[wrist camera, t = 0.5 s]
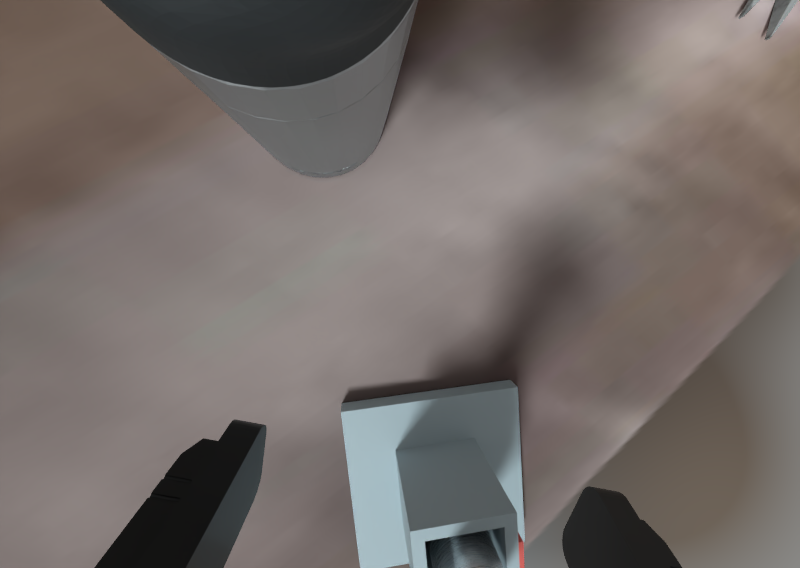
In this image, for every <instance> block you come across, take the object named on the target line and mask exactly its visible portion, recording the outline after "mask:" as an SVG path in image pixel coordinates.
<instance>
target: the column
mask: <svg viewBox="0 0 800 568" xmlns="http://www.w3.org/2000/svg"><path fill="white" fill-rule="evenodd" d="M427 545H428V549H429V554H430V558H431V563H432V567H433V568H504V567H503V565H502V563H501V561H500V558H499V556H498V554H497V551H496V549H495V547H494V545H493V542H492V540H491V538H490V535H489V533H488V531H487V530H486V531H480V532H475V533H469V534H464V535H458V536H453V537H447V538H441V539H436V540H430V541H427Z"/></svg>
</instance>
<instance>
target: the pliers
mask: <svg viewBox="0 0 800 568" xmlns="http://www.w3.org/2000/svg"><path fill="white" fill-rule="evenodd" d="M759 1H760V0H748V2H747V4H746V5H745V7H744V9H743V11H742V13H741V14H740V16H739V19H740V18H742V17H743V16H745V15H746V14H747V13H748V12H749V11H750V10H751V9H752V8H753V7H754V6H755V5H756V4H757V3H758V2H759ZM797 1H798V0H776V1H775V5H774V8H773V12H772V15H771V19H770V23H769V26H768V30H767V33H766V37H765V40H768V39H770V38H771V37H772V35H773V34H774V33H775V31H776V30H777V29H778V27H779V26H780V24H781V23H782V22H783V20H784V19H785V18H786V16H787V15H788V13H789V12H790V11H791V9H792V8H793V7H794V5H795V4H796V2H797Z"/></svg>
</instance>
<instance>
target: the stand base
mask: <svg viewBox="0 0 800 568" xmlns="http://www.w3.org/2000/svg"><path fill="white" fill-rule="evenodd" d="M341 416H342V424H343V432H344V440H345V448H346V456H347V464H348V473H349V481H350V489H351V497H352V505H353V513H354V521H355V529H356V537H357V545H358V553H359V561H360V568H386V567H392V566H397V565H402V564H408V563H409V565H410V568H433V567H432V563H431V558H430V554H429V549H428V545H427V541H430V540H436V539H441V538H447V537H453V536H458V535H464V534H469V533H475V532H480V531H486V530H487V531H488V533H489V535H490V538H491V540H492V542H493V545H494V547H495V549H496V551H497V554H498V556H499V558H500V561H501V563H502V565H503V567H504V568H524V547H523V542H525V534H524V512H523V490H522V468H521V446H520V424H519V402H518V387H517V386H516V385H515V384H514V383H513V382H512V381H511V380H504V381H497V382H490V383H483V384H476V385H468V386H461V387H454V388H447V389H440V390H432V391H425V392H418V393H411V394H404V395H397V396H389V397H382V398H375V399H368V400H361V401H354V402H346V403H342V406H341Z"/></svg>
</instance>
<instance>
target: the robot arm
mask: <svg viewBox="0 0 800 568" xmlns="http://www.w3.org/2000/svg"><path fill="white" fill-rule="evenodd" d="M101 1H102V2H103V3H104V4H105V5H106V6H107V7H108V8H109V9H110V10H112V11H113V12H114V13H115V14H116V15H117V16H118V17H119V18H120V19H122V20H123V21H124V22H125V23H126V24H127V25H128V26H129V27H130V28H132V29H133V30H134V31H135V32H136V33H137V34H139V35H140V36H141V37H142V38H143V39H145V40H146V41H147V42H148V43H149V44H150V45H151V46H153V47H154V48H155V49H156V50H157V51H158V52H159V53H160V54H161V55H162V56H164V57H165V58H166V59H167V60H168V61H169V62H170V63H171V64H172V65H174V66H175V67H176V68H177V69H178V70H179V71H180V72H181V73H182V74H183V75H185V76H186V77H187V78H188V79H189V80H190V81H191V82H192V83H193V84H194V85H196V86H197V87H198V88H199V89H200V90H202V91H203V92H204V93H205V94H206V95H207V96H208V97H209V98H210V99H211V100H212V101H214V102H215V103H216V104H217V105H218V106H219V107H220V108H221V109H222V110H223V111H224V112H226V113H227V114H228V115H229V116H230V117H231V118H232V119H233V120H234V121H235V122H237V123H238V124H239V125H240V126H241V127H242V128H243V129H244V130H245V131H246V132H247V133H249V134H250V135H251V136H252V137H253V138H254V139H255V140H256V141H257V142H258V143H259V144H261V145H262V146H263V147H264V148H265V149H266V150H267V151H268V152H269V153H270V154H271V155H273V156H274V157H275V158H276V159H277V160H278V161H280V162H281V163H282V164H284V165H285V166H286V167H288V168H290V169H292V170H294V171H296V172H298V173H300V174H304V175H308V176H312V177H333V176H338V175H342V174H345V173H347V172H349V171H352V170H354V169H355V168H357V167H358V166H359V165H361V164H362V163H363V162H365V160H366V159H367V158H368V157H369V156H370V155H371V154H372V153H373V151H374V149H375V148H376V146H377V144H378V142H379V141H380V138H381V134H382V131H383V128H384V125H385V121H386V118H387V115H388V111H389V107H390V104H391V100H392V97H393V93H394V89H395V86H396V82H397V78H398V75H399V71H400V67H401V64H402V60H403V56H404V53H405V49H406V45H407V42H408V38H409V34H410V30H411V26H412V22H413V18H414V14H415V11H416V7H417V3H418V0H101ZM265 438H266V425H262V424H257V423H251V422H246V421H240V420H233V421H232V422H231V423H230V425H229V426H228V428H227V429H226V431H225V432H224V434H223V435H222V437H221V438H220V440H219V441H214V440H209V439H202V440H201V441H199V442H198V443H196V444H195V445H193V446H192V447H191V448H189V449H188V450H186V451H185V452H183V453H182V454H181V455H180V456H179V458H178V459H177V460H176V461H175V463H174V464H173V465H172V467H171V468H170V469H169V471H168V472H167V473H166V475H165V478H164V479H162V480H161V481H160V482H159V484H158V485H157V486H156V488H155V489H154V490H153V492H152V493H151V496H150V498H147V499H146V501H145V502H144V503H143V505H142V506H141V507H140V509H139V510H138V511H137V513H136V514H135V515H134V517H133V518H132V519H131V520H130V522H129V523H128V524H127V526H126V527H125V528H124V530H123V531H122V532H121V534H120V535H119V536H118V538H117V539H116V540H115V541H114V543H113V544H112V545H111V547H110V548H109V549H108V551H107V552H106V553H105V555H104V556H103V557H102V559H101V560H100V561H99V562H98V564H97V565H96V566H95V568H223V567H224V565H225V563H226V561H227V559H228V556H229V554H230V552H231V550H232V547H233V545H234V543H235V541H236V539H237V536H238V534H239V532H240V530H241V527H242V525H243V523H244V521H245V519H246V516H247V514H248V512H249V510H250V507H251V505H252V503H253V501H254V498H255V495H256V493H257V490H258V486H259V483H260V479H261V473H262V465H263V456H264V447H265ZM562 541H563V551H564V556H565V559H566V561H567V564H568V567H569V568H682V567H681V565H680V564H679V562H678V561H677V559H676V558H675V556H674V555H673V553H672V552H671V550H670V549H669V547H668V545H667V544H666V543H665V542H664V541H663V540H662V539H661V537H660V536H658V535H657V533H655V531H654V530H652V528H651V527H650V526H649V525H648V524H647V523H646V522H645V521H644V520H640V519H639V517H638V516H637V514H636V512H635V511H634V509H633V508H632V506H631V504H630V503H629V501H628V500H627V498H626V497H625V496H624V495H623V494H621V493H620V492H616V491H611V490H606V489H600V488H595V487H586V488H585V489H584V490H583V492H582V494H581V496H580V498H579V500H578V502H577V504H576V506H575V508H574V510H573V512H572V514H571V516H570V518H569V520H568V522H567V524H566V526H565V528H564V531H563V540H562Z"/></svg>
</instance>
